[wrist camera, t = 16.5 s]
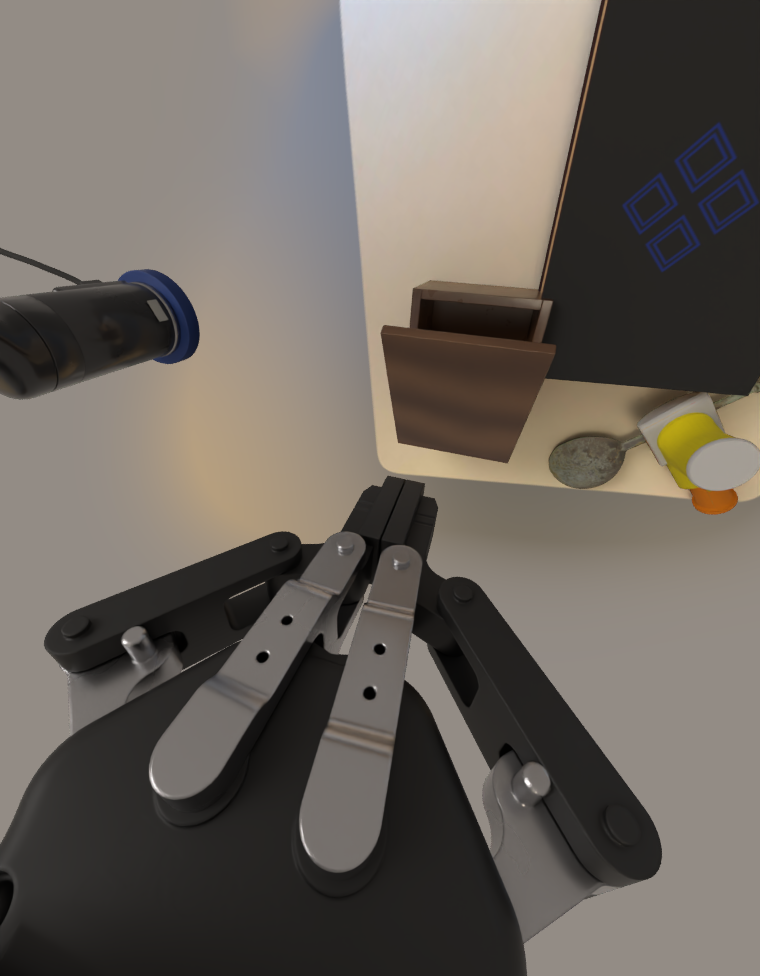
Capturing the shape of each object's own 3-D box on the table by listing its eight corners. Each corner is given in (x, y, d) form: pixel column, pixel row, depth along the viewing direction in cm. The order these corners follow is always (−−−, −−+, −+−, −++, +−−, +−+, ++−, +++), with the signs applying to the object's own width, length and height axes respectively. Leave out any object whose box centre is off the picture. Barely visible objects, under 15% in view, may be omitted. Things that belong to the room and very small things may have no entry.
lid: (383, 324, 26) (380, 333, 25) (556, 344, 23) (555, 354, 23) (399, 436, 40) (397, 443, 39) (508, 456, 37) (507, 463, 37)
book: (943, -71, 20) (1090, -178, 15) (713, 373, 35) (748, 396, 29) (604, -17, 25) (628, -86, 20) (523, 358, 39) (523, 377, 34)
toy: (685, 477, 28) (626, 414, 36) (732, 566, 35) (674, 497, 42) (771, 438, 26) (688, 378, 33) (805, 543, 32) (729, 473, 40)
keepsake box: (429, 280, 38) (412, 287, 32) (547, 290, 35) (553, 300, 29) (415, 411, 46) (399, 438, 40) (509, 427, 44) (508, 458, 37)
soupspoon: (538, 448, 45) (564, 489, 46) (537, 460, 42) (565, 503, 44) (779, 336, 32) (804, 398, 34) (800, 344, 29) (826, 410, 31)
